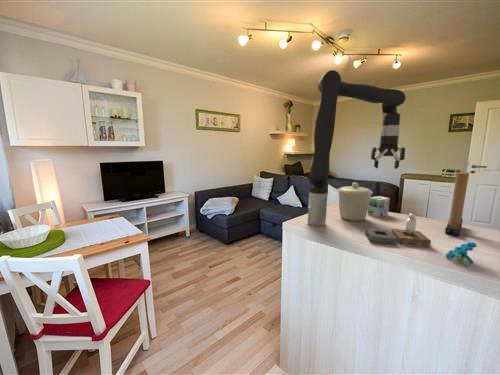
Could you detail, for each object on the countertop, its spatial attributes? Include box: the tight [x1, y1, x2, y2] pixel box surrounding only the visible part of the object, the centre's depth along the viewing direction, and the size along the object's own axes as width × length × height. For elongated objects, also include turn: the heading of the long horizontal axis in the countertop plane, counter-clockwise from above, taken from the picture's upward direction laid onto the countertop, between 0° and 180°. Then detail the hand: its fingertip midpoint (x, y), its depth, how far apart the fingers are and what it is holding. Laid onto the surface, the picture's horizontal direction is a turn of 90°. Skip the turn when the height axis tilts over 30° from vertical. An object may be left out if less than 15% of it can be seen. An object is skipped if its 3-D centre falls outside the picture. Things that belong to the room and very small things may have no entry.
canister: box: [337, 182, 374, 222], centre depth 126 cm, size 18×18×21 cm
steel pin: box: [405, 213, 417, 237], centre depth 97 cm, size 3×3×12 cm
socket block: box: [364, 227, 398, 246], centre depth 99 cm, size 10×10×3 cm
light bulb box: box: [367, 195, 390, 218], centre depth 134 cm, size 11×7×11 cm, turn 118°
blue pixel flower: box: [445, 241, 478, 267], centre depth 79 cm, size 11×6×10 cm
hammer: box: [444, 171, 470, 236], centre depth 105 cm, size 20×5×30 cm, turn 134°
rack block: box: [390, 228, 432, 248], centre depth 97 cm, size 11×11×3 cm
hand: (386, 168), depth 111 cm, fingers open, 8 cm apart
